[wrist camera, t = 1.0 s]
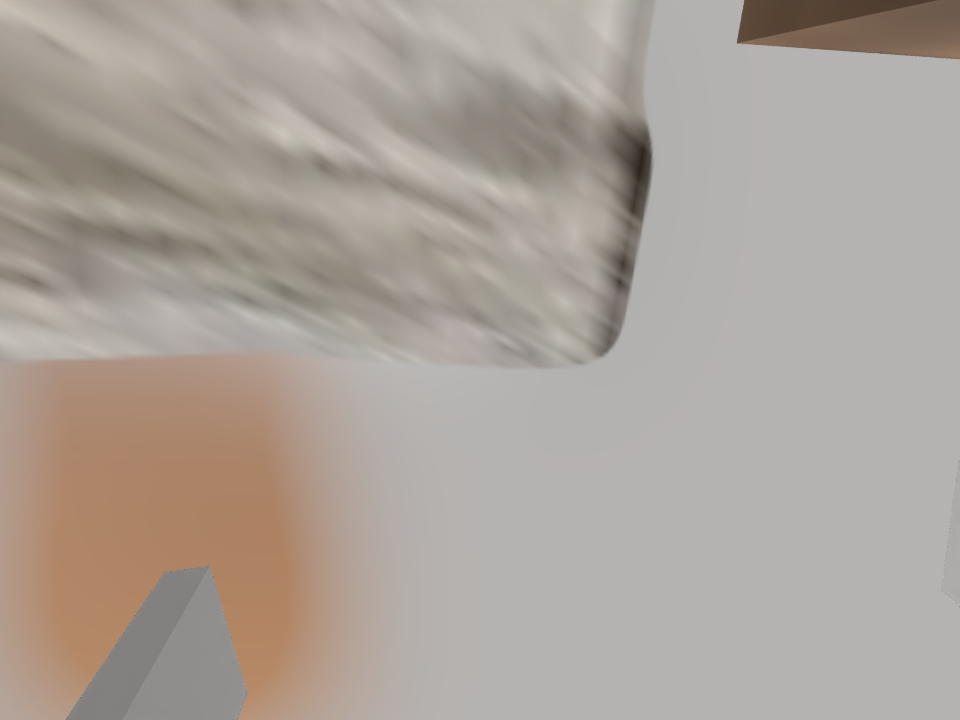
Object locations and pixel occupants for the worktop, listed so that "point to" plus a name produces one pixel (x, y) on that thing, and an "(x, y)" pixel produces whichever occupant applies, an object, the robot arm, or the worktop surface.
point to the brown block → (855, 25)
